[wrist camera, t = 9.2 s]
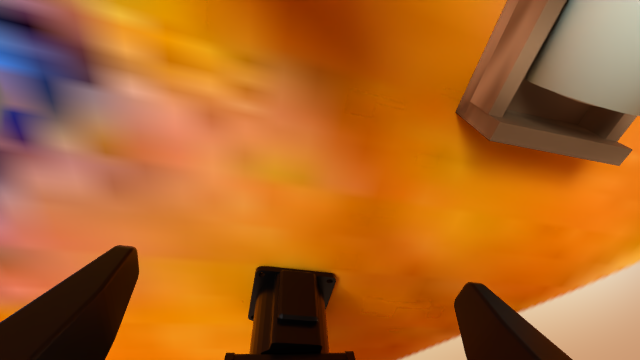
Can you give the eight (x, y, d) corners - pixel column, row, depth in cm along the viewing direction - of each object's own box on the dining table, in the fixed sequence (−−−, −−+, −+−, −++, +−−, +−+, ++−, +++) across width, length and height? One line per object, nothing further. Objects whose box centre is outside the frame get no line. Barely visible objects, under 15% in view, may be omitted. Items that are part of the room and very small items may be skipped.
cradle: (566, 135, 21) (619, 166, 17) (454, 112, 19) (488, 140, 16) (770, -163, 13) (930, -211, 10) (615, -235, 12) (739, -318, 9)
